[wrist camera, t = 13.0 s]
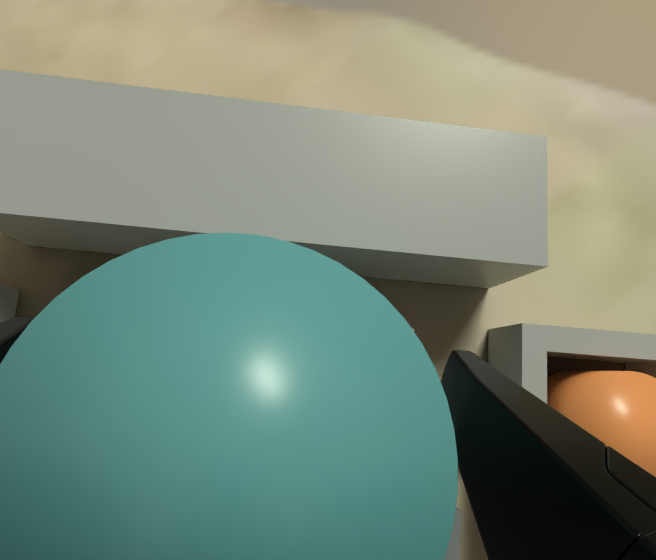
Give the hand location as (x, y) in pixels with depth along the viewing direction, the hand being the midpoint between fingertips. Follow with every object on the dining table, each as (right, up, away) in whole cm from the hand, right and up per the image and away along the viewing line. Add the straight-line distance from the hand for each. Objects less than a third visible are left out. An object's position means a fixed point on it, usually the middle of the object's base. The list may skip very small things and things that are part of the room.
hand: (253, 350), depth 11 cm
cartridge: (-1, -3, +6) cm, 7 cm away
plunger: (+10, -4, +7) cm, 13 cm away
